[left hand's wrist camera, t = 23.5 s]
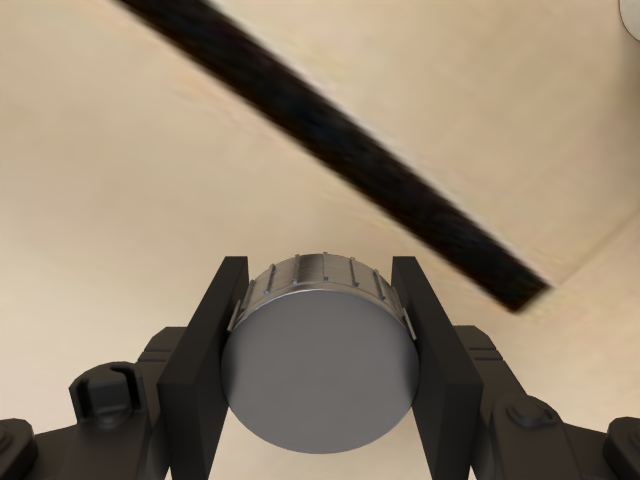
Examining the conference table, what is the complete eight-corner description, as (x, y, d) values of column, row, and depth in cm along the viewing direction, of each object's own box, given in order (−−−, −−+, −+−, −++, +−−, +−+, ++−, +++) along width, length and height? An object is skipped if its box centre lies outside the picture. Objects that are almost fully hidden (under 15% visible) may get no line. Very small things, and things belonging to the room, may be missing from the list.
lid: (263, 224, 11) (251, 256, 9) (436, 284, 12) (460, 325, 10) (213, 372, 13) (193, 425, 11) (367, 417, 14) (375, 476, 12)
